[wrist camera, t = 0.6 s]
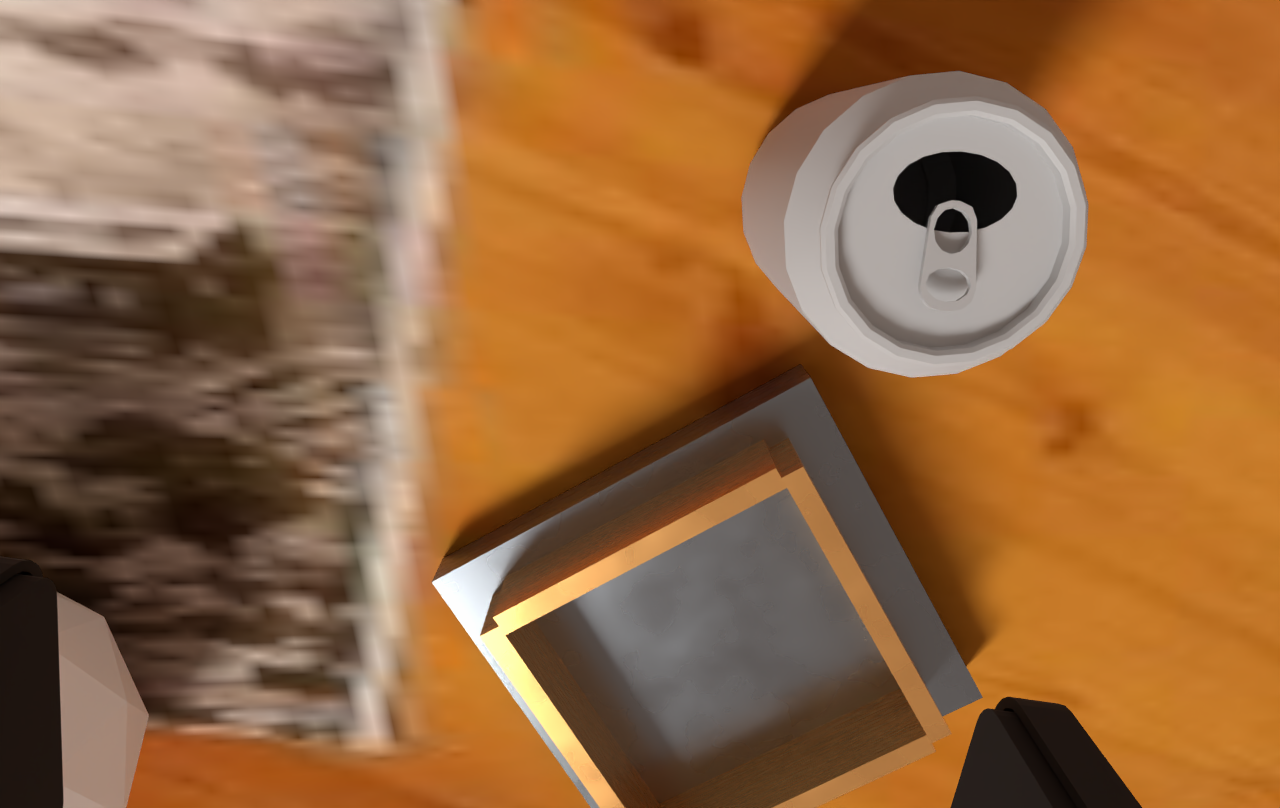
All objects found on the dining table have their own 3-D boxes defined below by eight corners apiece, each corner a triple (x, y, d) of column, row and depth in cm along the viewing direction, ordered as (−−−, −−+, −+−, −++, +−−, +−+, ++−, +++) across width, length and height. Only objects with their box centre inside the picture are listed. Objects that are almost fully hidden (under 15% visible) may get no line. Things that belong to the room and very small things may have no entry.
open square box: (800, 364, 34) (827, 401, 29) (964, 669, 38) (1012, 746, 33) (442, 558, 36) (412, 622, 31) (630, 828, 40) (630, 923, 35)
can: (964, 100, 31) (1155, 77, 20) (931, 313, 33) (1085, 405, 22) (749, 84, 31) (815, 52, 20) (729, 300, 33) (777, 385, 22)
